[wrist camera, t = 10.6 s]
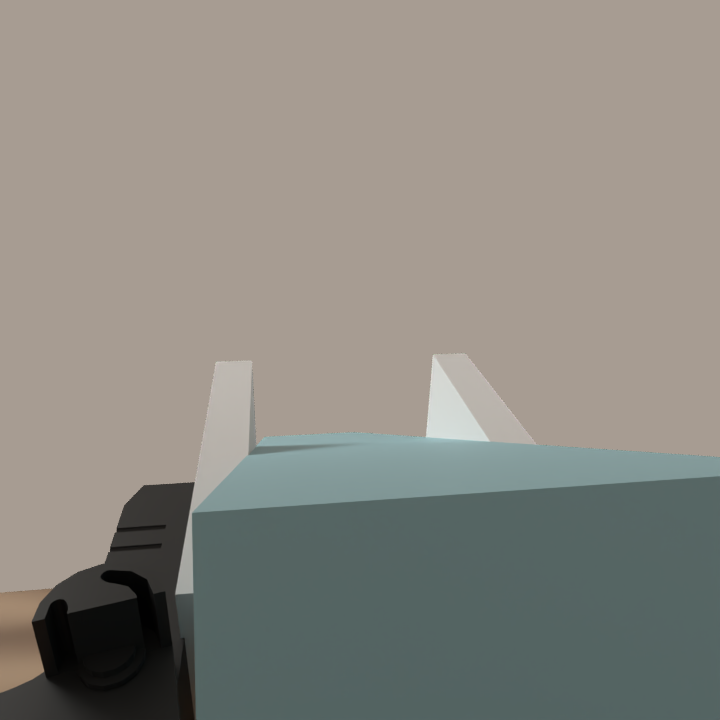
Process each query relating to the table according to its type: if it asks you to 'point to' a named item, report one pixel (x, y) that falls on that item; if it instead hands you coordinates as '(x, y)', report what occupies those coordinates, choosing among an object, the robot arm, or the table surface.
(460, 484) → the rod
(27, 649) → the walnut wood block
